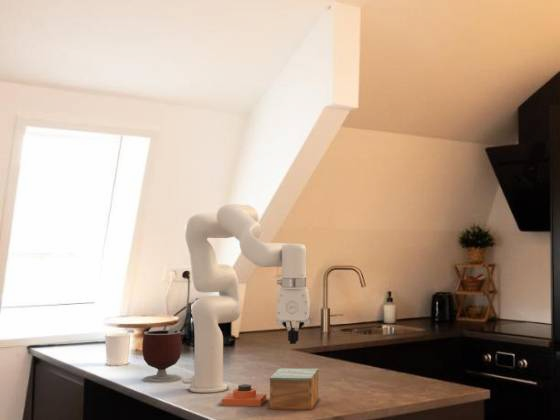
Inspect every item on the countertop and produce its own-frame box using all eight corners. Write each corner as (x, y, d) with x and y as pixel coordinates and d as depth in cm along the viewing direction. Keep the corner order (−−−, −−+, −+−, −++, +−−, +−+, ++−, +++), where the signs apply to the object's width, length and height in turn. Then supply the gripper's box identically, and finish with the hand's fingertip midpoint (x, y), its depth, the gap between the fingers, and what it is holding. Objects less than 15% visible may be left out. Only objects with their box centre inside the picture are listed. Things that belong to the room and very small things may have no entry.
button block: (221, 405, 234) (222, 392, 235) (229, 399, 243) (229, 386, 244) (260, 406, 234) (260, 392, 234) (266, 399, 243) (266, 387, 243)
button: (236, 392, 237) (236, 386, 237) (239, 389, 241) (239, 384, 241) (249, 392, 237) (249, 386, 237) (252, 390, 241) (252, 384, 241)
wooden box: (311, 409, 229) (311, 380, 229) (269, 409, 229) (270, 379, 230) (318, 398, 244) (318, 371, 245) (279, 398, 245) (279, 370, 245)
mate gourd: (159, 384, 269) (160, 327, 270) (133, 380, 277) (134, 324, 277) (192, 377, 282) (193, 323, 283) (167, 373, 290) (167, 321, 290)
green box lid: (311, 380, 228) (311, 378, 228) (269, 380, 229) (269, 377, 229) (318, 371, 245) (318, 368, 245) (279, 370, 245) (279, 368, 245)
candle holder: (130, 361, 319) (130, 332, 319) (129, 365, 310) (130, 335, 310) (105, 362, 316) (105, 333, 316) (104, 366, 306) (104, 336, 307)
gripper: (267, 284, 232) (266, 344, 231) (316, 284, 231) (315, 345, 231) (272, 282, 239) (271, 341, 239) (319, 283, 239) (319, 342, 238)
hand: (293, 343), depth 235 cm, fingers closed
